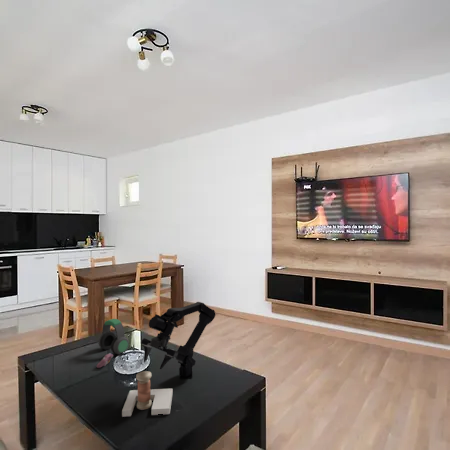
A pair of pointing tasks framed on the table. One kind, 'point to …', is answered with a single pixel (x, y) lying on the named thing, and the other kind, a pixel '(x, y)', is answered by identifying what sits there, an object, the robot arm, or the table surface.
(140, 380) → the bobbin
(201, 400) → the table surface
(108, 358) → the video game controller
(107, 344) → the headphones
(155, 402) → the notched board
